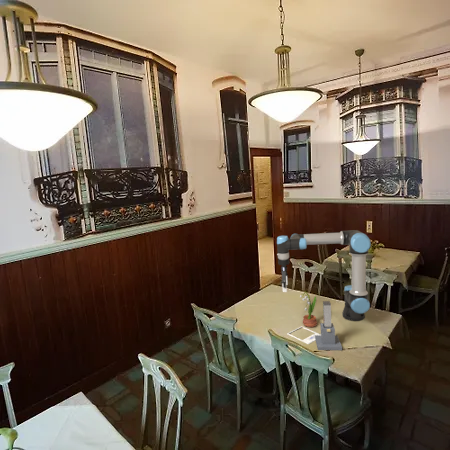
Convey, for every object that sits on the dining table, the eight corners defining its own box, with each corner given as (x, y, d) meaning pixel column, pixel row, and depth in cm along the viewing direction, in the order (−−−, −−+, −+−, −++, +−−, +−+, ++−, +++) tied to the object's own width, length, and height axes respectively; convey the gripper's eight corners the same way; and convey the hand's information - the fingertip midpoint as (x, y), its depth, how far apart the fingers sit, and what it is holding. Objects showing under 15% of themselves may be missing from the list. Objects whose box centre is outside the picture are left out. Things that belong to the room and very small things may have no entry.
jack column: (330, 338, 201) (329, 301, 197) (331, 342, 196) (330, 303, 193) (323, 338, 201) (322, 301, 197) (325, 342, 197) (323, 303, 193)
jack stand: (337, 338, 205) (337, 320, 203) (342, 350, 191) (341, 331, 189) (315, 338, 207) (314, 320, 205) (317, 350, 193) (317, 331, 192)
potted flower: (304, 330, 219) (303, 295, 215) (297, 323, 228) (296, 290, 224) (320, 326, 222) (319, 292, 218) (312, 320, 231) (311, 287, 227)
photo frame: (308, 343, 200) (287, 333, 215) (308, 345, 201) (287, 334, 215) (323, 335, 209) (301, 326, 223) (323, 336, 209) (301, 327, 223)
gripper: (279, 253, 231) (280, 282, 235) (276, 263, 207) (278, 294, 211) (289, 253, 230) (291, 281, 233) (288, 263, 206) (290, 295, 209)
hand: (285, 288), depth 222 cm, fingers open, 13 cm apart
